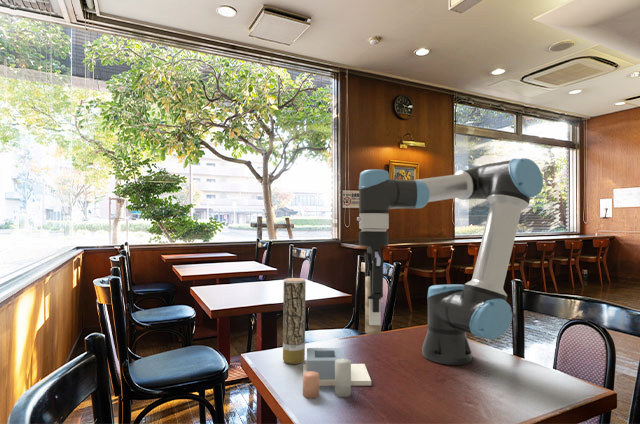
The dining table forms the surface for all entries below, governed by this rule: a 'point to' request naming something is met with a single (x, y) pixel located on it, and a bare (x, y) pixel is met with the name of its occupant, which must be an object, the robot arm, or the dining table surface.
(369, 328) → the long dowel
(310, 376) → the short dowel
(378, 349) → the dining table surface
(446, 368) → the dining table surface
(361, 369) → the socket board
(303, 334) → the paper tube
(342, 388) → the medium dowel
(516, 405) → the dining table surface
